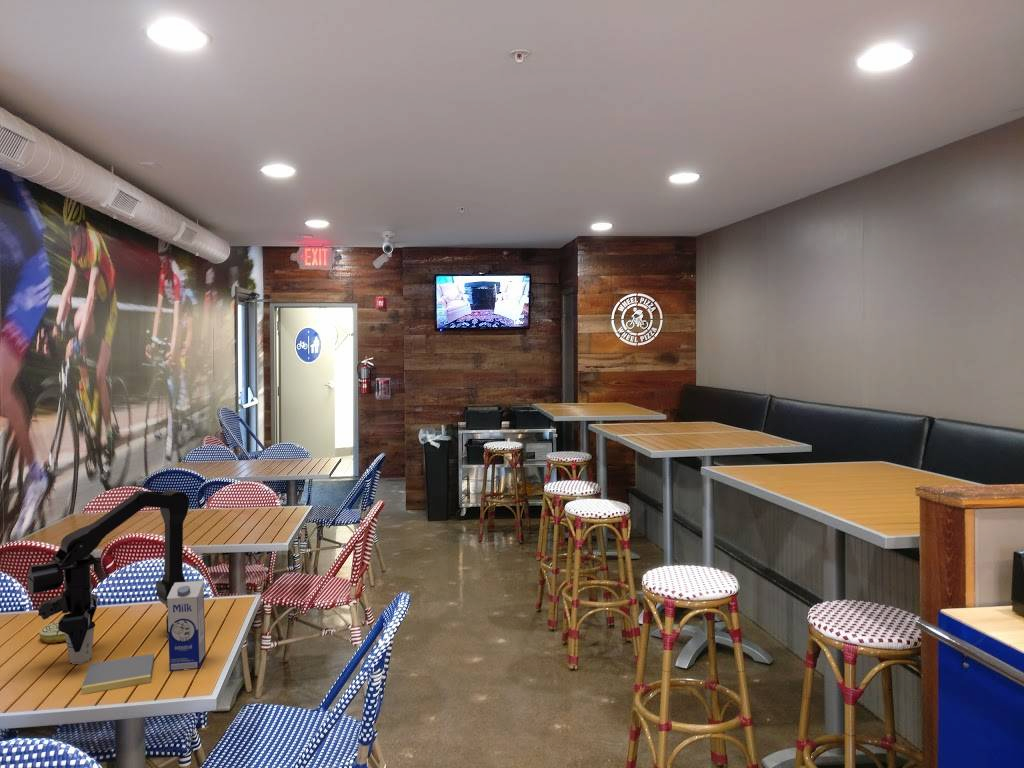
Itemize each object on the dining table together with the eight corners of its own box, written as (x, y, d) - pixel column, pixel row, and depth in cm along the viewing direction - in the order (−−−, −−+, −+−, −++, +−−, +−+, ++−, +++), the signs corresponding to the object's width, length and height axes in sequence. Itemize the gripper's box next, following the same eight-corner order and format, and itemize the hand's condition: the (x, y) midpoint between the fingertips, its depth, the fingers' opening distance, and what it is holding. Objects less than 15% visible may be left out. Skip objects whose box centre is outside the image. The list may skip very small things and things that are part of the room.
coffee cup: (94, 652, 184) (92, 614, 184) (99, 661, 179) (97, 622, 179) (62, 660, 180) (61, 621, 179) (66, 669, 175) (65, 629, 174)
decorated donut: (69, 627, 202) (68, 614, 202) (93, 633, 197) (93, 620, 197) (31, 641, 193) (30, 627, 192) (55, 647, 188) (55, 633, 188)
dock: (154, 659, 180) (153, 653, 180) (150, 682, 167) (150, 676, 167) (90, 669, 174) (90, 663, 174) (81, 694, 161) (81, 688, 161)
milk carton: (206, 657, 181) (204, 579, 180) (199, 668, 174) (197, 588, 173) (176, 659, 179) (174, 581, 179) (168, 671, 173) (166, 590, 172)
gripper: (47, 577, 184) (50, 636, 185) (31, 600, 167) (34, 665, 168) (97, 572, 188) (99, 629, 189) (86, 593, 171) (89, 656, 172)
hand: (80, 644), depth 179 cm, fingers open, 9 cm apart
